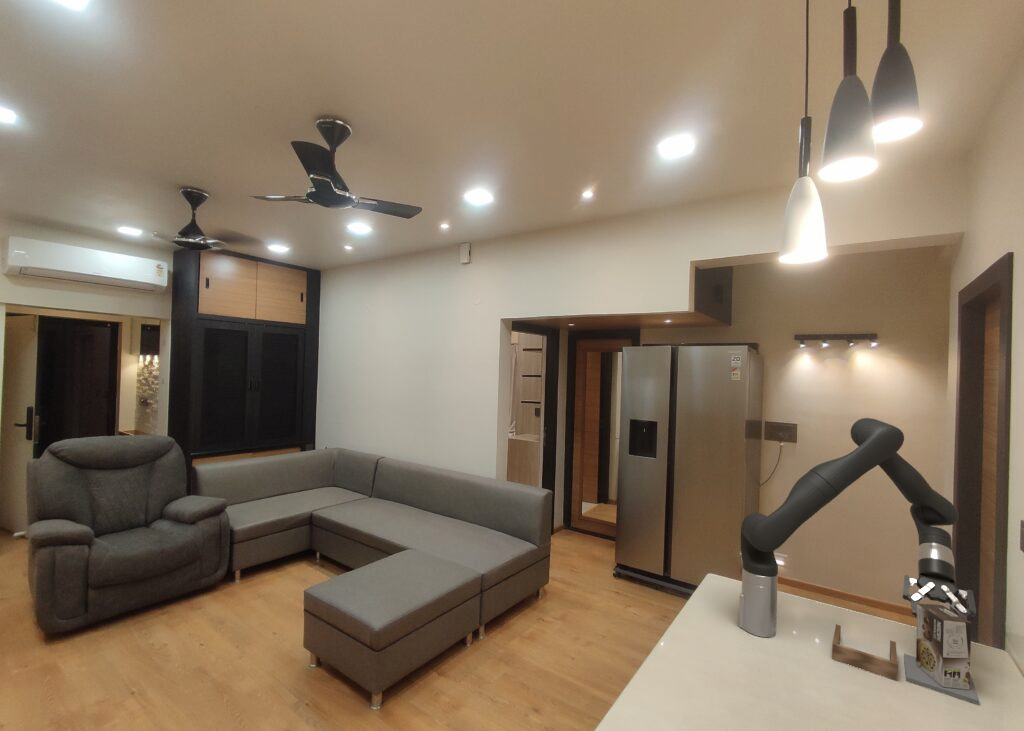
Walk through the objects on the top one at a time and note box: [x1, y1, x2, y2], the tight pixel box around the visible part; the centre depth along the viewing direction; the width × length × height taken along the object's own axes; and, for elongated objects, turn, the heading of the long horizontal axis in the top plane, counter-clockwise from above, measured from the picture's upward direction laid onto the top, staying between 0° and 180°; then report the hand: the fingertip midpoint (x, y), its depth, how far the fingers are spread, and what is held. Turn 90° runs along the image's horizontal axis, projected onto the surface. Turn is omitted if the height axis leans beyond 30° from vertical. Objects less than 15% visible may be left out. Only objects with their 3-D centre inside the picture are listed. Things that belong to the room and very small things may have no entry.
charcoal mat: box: [903, 653, 980, 706], centre depth 118 cm, size 13×13×1 cm
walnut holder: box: [831, 623, 898, 682], centre depth 126 cm, size 13×13×4 cm
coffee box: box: [915, 603, 972, 690], centre depth 118 cm, size 9×6×16 cm
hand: (938, 622), depth 121 cm, fingers open, 8 cm apart
